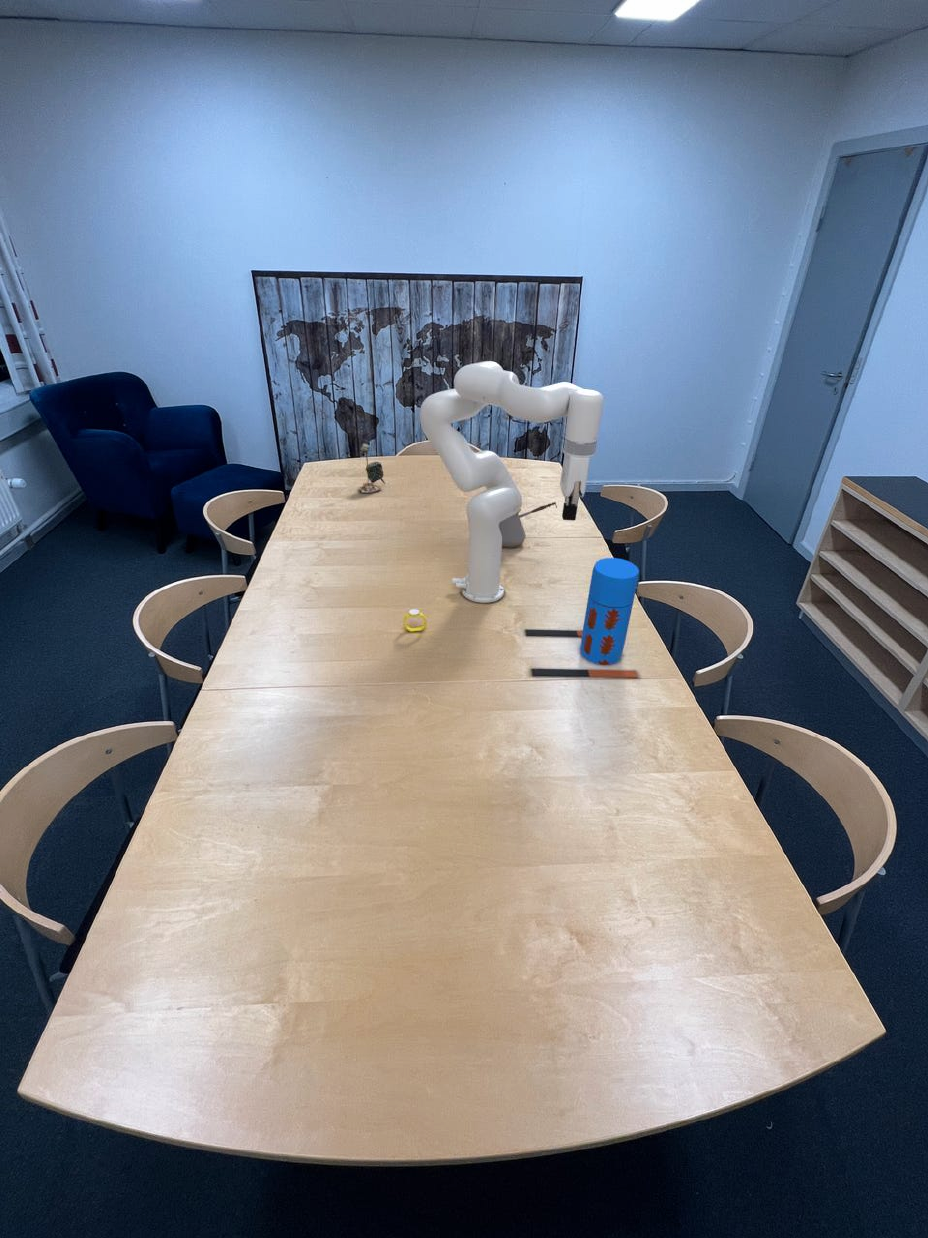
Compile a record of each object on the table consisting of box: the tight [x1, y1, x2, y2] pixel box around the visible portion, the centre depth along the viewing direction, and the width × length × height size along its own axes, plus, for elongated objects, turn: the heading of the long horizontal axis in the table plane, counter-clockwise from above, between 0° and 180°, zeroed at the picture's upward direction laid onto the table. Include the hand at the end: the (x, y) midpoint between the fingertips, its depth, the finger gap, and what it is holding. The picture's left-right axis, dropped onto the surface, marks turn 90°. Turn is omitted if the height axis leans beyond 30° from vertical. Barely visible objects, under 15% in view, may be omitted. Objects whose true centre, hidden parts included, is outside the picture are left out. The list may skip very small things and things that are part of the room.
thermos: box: [580, 557, 640, 666], centre depth 153 cm, size 11×11×25 cm
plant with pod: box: [358, 443, 386, 494], centre depth 246 cm, size 8×11×20 cm
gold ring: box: [403, 608, 427, 632], centre depth 164 cm, size 6×3×6 cm, turn 95°
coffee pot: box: [499, 501, 558, 549], centre depth 209 cm, size 21×12×15 cm, turn 95°
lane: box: [525, 628, 639, 679], centre depth 159 cm, size 26×20×1 cm
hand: (568, 518), depth 153 cm, fingers closed
